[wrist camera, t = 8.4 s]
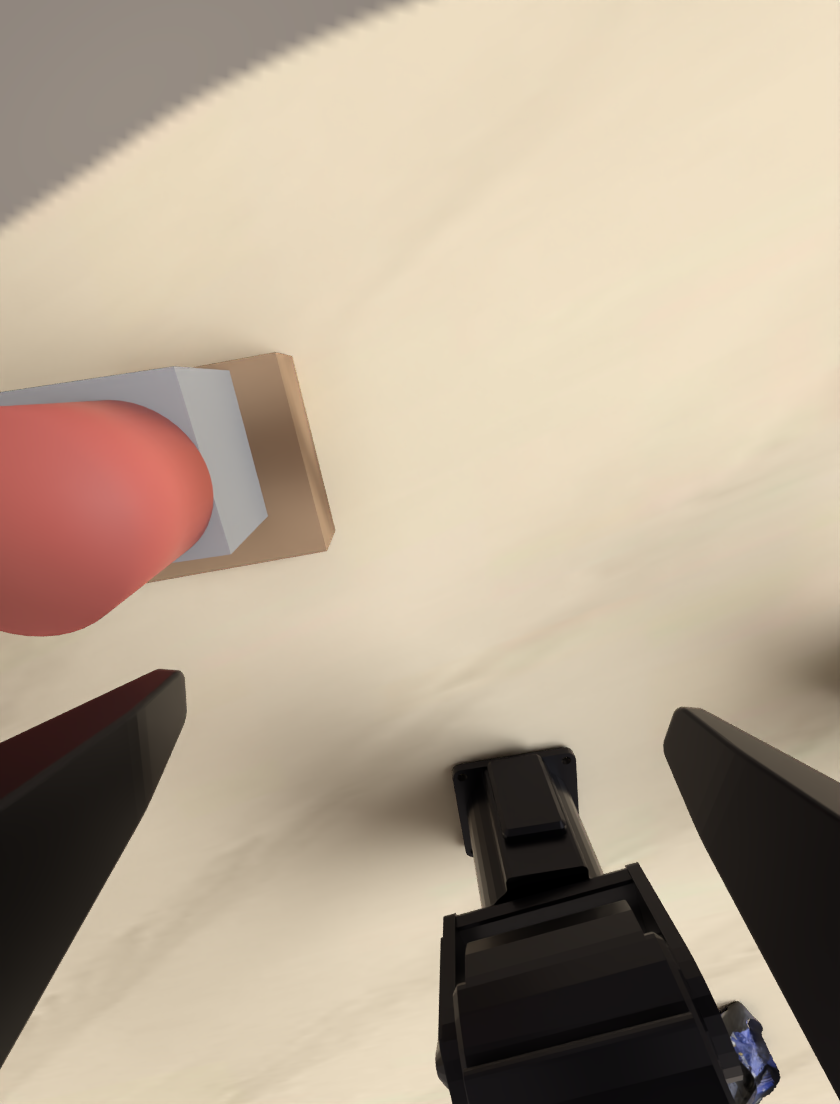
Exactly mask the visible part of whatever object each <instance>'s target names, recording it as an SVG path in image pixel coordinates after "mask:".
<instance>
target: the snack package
mask: <svg viewBox="0 0 840 1104" xmlns="http://www.w3.org/2000/svg"><path fill="white" fill-rule="evenodd" d="M720 1015H721V1017H722V1019H723V1022H724V1024H725V1026H726V1029H727V1031H728V1033H729V1036H730V1038H731V1041H732V1043H733V1046H734V1049H735V1051H736V1054H737V1057H738V1060H739V1063H740V1066H741V1069H742V1073H743V1080H741V1081H737V1082H733V1083H729V1084H728V1087H729V1089H730V1091H731V1094H732V1096H733V1098H734V1101H735V1103H736V1104H759V1103H760V1101H761V1100H762V1098H763V1097H766V1096H767V1095H770V1093H771V1092H772V1091H774V1088H776V1085H777V1084H778V1082H779V1080H780V1074H779V1070H778V1068H777V1066H776V1064H775V1062H774V1061H773V1058H772V1055H771V1054H769V1053H770V1052H769V1050H768V1048H767V1046H766V1043H765V1042H764V1039H763V1038H762V1034H761V1033H762V1031H763V1027H762V1026H761V1024H760V1022H759V1021H758V1020H757V1019H756V1018H754V1017H753V1016H752V1014H751V1013H750V1012H749V1011H748V1010H747V1009H746V1008H745V1007H744V1006H743V1004H741V1003H740V1002H734V1003H733V1004H730V1005H729V1006H728V1010H727V1011H724V1012H723V1013H722V1014H720ZM749 1018H750V1021H749V1023H748V1025H749V1026H750V1030H749V1028H748V1026H747V1020H748V1019H749Z"/></svg>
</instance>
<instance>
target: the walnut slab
mask: <svg viewBox="0 0 840 1104" xmlns="http://www.w3.org/2000/svg"><path fill="white" fill-rule="evenodd" d="M193 368H203V369H216V370H229V371H230V375H231V379H232V382H233V386H234V390H235V394H236V398H237V401H238V405H239V409H240V413H241V416H242V420H243V424H244V428H245V431H246V435H247V439H248V443H249V447H250V450H251V454H252V458H253V462H254V465H255V469H256V473H257V477H258V480H259V484H260V488H261V492H262V495H263V499H264V503H265V507H266V511H267V514H268V517H267V518H266V519H265V520H264V521H263V522H262V523H261V524H260V525H259V526H258V527H257V528H256V529H255V530H254V531H253V532H252V533H251V534H250V535H249V536H248V537H247V538H246V539H245V540H244V541H243V542H242V543H241V544H240V546H239V547H238V548H237V549H236V550H235V551H234V552H233V553H232V554H230V555H223V556H216V557H209V558H202V559H196V560H189V561H182V562H175V563H171V564H170V565H168V566H167V567H166V568H165V569H163V570H162V571H161V572H160V573H158V574H157V575H156V576H154V577H153V578H152V579H151V580H149V581H148V582H147V583H149V582H155V581H161V580H166V579H172V578H178V577H183V576H189V575H195V574H200V573H206V572H211V571H217V570H223V569H228V568H234V567H240V566H245V565H251V564H256V563H262V562H268V561H273V560H279V559H285V558H290V557H296V556H302V555H307V554H313V553H318V552H324V551H327V549H328V547H329V545H330V542H331V540H332V537H333V535H334V533H335V527H334V523H333V519H332V515H331V511H330V507H329V503H328V499H327V495H326V491H325V487H324V483H323V479H322V475H321V471H320V467H319V463H318V459H317V455H316V450H315V446H314V442H313V438H312V434H311V430H310V426H309V422H308V418H307V414H306V410H305V406H304V402H303V398H302V394H301V390H300V386H299V382H298V378H297V374H296V370H295V366H294V362H293V358H292V356H288V355H284V354H280V353H276V352H274V353H269V354H263V355H258V356H252V357H247V358H241V359H236V360H231V361H225V362H220V363H214V364H209V365H203V366H198V367H193Z"/></svg>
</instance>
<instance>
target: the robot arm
mask: <svg viewBox="0 0 840 1104" xmlns="http://www.w3.org/2000/svg"><path fill="white" fill-rule="evenodd" d="M186 713H187V706H186V690H185V677H184V674H183V673H182V672H181V671H179V670H166V669H157V670H154V671H152V672H150V673H148V674H146V675H144V676H141V677H139V678H137V679H135V680H133V681H131V682H129V683H127V684H124V685H122V686H120V687H118V688H116V689H114V690H112V691H110V692H108V693H105V694H103V695H101V696H99V697H97V698H95V699H93V700H91V701H88V702H86V703H84V704H82V705H80V706H78V707H76V708H74V709H71V710H69V711H67V712H65V713H63V714H61V715H59V716H57V717H54V718H52V719H50V720H48V721H46V722H44V723H42V724H40V725H38V726H35V727H33V728H31V729H29V730H27V731H25V732H23V733H21V734H18V735H16V736H14V737H12V738H10V739H8V740H6V741H4V742H1V743H0V1069H1V1067H2V1065H3V1064H4V1062H5V1060H6V1058H7V1057H8V1055H9V1053H10V1051H11V1050H12V1048H13V1046H14V1044H15V1042H16V1041H17V1039H18V1037H19V1035H20V1034H21V1032H22V1030H23V1028H24V1026H25V1025H26V1023H27V1021H28V1019H29V1018H30V1016H31V1014H32V1012H33V1011H34V1009H35V1007H36V1005H37V1003H38V1002H39V1000H40V998H41V996H42V995H43V993H44V991H45V989H46V987H47V986H48V984H49V982H50V980H51V979H52V977H53V975H54V973H55V971H56V970H57V968H58V966H59V964H60V963H61V961H62V959H63V957H64V956H65V954H66V952H67V950H68V948H69V947H70V945H71V943H72V941H73V940H74V938H75V936H76V934H77V932H78V931H79V929H80V927H81V925H82V924H83V922H84V920H85V918H86V917H87V915H88V913H89V911H90V909H91V908H92V906H93V904H94V902H95V901H96V899H97V897H98V895H99V893H100V892H101V890H102V888H103V886H104V885H105V883H106V881H107V879H108V878H109V876H110V874H111V872H112V870H113V869H114V867H115V865H116V863H117V862H118V860H119V858H120V856H121V854H122V853H123V851H124V849H125V847H126V846H127V844H128V842H129V840H130V839H131V837H132V835H133V833H134V831H135V830H136V828H137V826H138V824H139V822H140V821H141V819H142V817H143V815H144V813H145V811H146V809H147V807H148V805H149V803H150V801H151V799H152V796H153V794H154V792H155V790H156V787H157V785H158V783H159V780H160V778H161V776H162V774H163V771H164V769H165V767H166V764H167V762H168V760H169V758H170V755H171V753H172V751H173V748H174V746H175V744H176V741H177V739H178V737H179V735H180V732H181V730H182V728H183V725H184V723H185V719H186ZM663 748H664V754H665V757H666V760H667V762H668V764H669V767H670V769H671V771H672V774H673V776H674V778H675V781H676V783H677V785H678V788H679V790H680V792H681V795H682V797H683V799H684V802H685V804H686V807H687V809H688V811H689V814H690V816H691V818H692V821H693V823H694V825H695V827H696V830H697V832H698V834H699V836H700V838H701V840H702V842H703V844H704V846H705V848H706V850H707V852H708V854H709V856H710V858H711V860H712V861H713V863H714V865H715V867H716V869H717V871H718V873H719V875H720V877H721V878H722V880H723V882H724V884H725V886H726V888H727V890H728V892H729V893H730V895H731V897H732V899H733V901H734V903H735V905H736V907H737V908H738V910H739V912H740V914H741V916H742V918H743V920H744V922H745V923H746V925H747V927H748V929H749V931H750V933H751V935H752V937H753V939H754V940H755V942H756V944H757V946H758V948H759V950H760V952H761V954H762V955H763V957H764V959H765V961H766V963H767V965H768V967H769V969H770V970H771V972H772V974H773V976H774V978H775V980H776V982H777V984H778V985H779V987H780V989H781V991H782V993H783V995H784V997H785V999H786V1001H787V1002H788V1004H789V1006H790V1008H791V1010H792V1012H793V1014H794V1016H795V1017H796V1019H797V1021H798V1023H799V1025H800V1027H801V1029H802V1031H803V1032H804V1034H805V1036H806V1038H807V1040H808V1042H809V1044H810V1046H811V1047H812V1049H813V1051H814V1053H815V1055H816V1057H817V1059H818V1061H819V1063H820V1064H821V1066H822V1068H823V1070H824V1072H825V1074H826V1076H827V1078H828V1079H829V1081H830V1083H831V1085H832V1087H833V1089H834V1091H835V1093H836V1094H837V1096H838V1098H839V1100H840V783H839V782H837V781H836V780H834V779H832V778H830V777H828V776H826V775H824V774H823V773H821V772H819V771H817V770H815V769H813V768H811V767H810V766H808V765H806V764H804V763H802V762H800V761H798V760H797V759H795V758H793V757H791V756H789V755H787V754H785V753H784V752H782V751H780V750H778V749H776V748H774V747H772V746H771V745H769V744H767V743H765V742H763V741H761V740H759V739H758V738H756V737H754V736H752V735H750V734H748V733H746V732H745V731H743V730H741V729H739V728H737V727H735V726H733V725H732V724H730V723H728V722H726V721H724V720H722V719H720V718H719V717H717V716H715V715H713V714H711V713H709V712H707V711H705V710H703V709H701V708H692V707H679V708H677V709H676V710H675V711H674V714H673V716H672V719H671V722H670V725H669V728H668V731H667V733H666V736H665V739H664V744H663ZM565 757H567V758H565ZM563 758H565V759H563ZM460 774H464V775H460ZM452 776H453V782H454V788H455V794H456V799H457V805H458V810H459V816H460V822H461V827H462V833H463V838H464V844H465V850H466V853H467V855H468V856H470V857H474V863H475V869H476V875H477V881H478V888H479V894H480V900H481V906H482V909H478V910H475V911H471V912H467V913H464V914H460V915H456V913H454V914H451V915H447V916H444V918H443V937H442V938H441V951H440V989H439V1028H438V1043H437V1050H436V1057H435V1060H436V1070H437V1074H438V1077H439V1079H440V1080H441V1081H442V1082H443V1084H444V1085H445V1086H446V1087H447V1088H448V1089H449V1091H450V1095H451V1099H452V1104H736V1103H735V1101H734V1098H733V1096H732V1094H731V1091H730V1089H729V1087H728V1084H729V1083H733V1082H737V1081H741V1080H743V1073H742V1069H741V1066H740V1063H739V1060H738V1057H737V1054H736V1051H735V1049H734V1046H733V1043H732V1041H731V1038H730V1036H729V1033H728V1031H727V1029H726V1026H725V1024H724V1022H723V1019H722V1017H721V1015H720V1012H719V1010H718V1008H717V1006H716V1003H715V1001H714V999H713V997H712V995H711V993H710V990H709V988H708V986H707V984H706V982H705V980H704V978H703V976H702V974H701V972H700V970H699V968H698V966H697V964H696V962H695V960H694V958H693V957H692V955H691V953H690V951H689V949H688V948H687V946H686V944H685V942H684V941H683V939H682V937H681V936H680V934H679V932H678V930H677V929H676V927H675V925H674V924H673V922H672V920H671V918H670V917H669V915H668V913H667V911H666V910H665V908H664V906H663V905H662V903H661V901H660V899H659V898H658V896H657V894H656V893H655V891H654V889H653V887H652V886H651V884H650V882H649V881H648V879H647V877H646V875H645V874H644V872H643V870H642V869H641V867H640V865H639V863H638V862H636V863H632V864H629V865H625V867H626V868H624V869H621V870H617V871H614V872H610V873H606V874H603V871H602V869H601V866H600V864H599V862H598V859H597V857H596V855H595V852H594V850H593V847H592V845H591V843H590V840H589V838H588V836H587V833H586V831H585V828H584V826H583V824H582V821H581V819H580V817H579V808H578V790H577V771H576V758H575V755H574V753H573V751H572V750H571V749H570V748H558V749H552V750H545V751H539V752H533V753H527V754H521V755H515V756H508V757H502V758H496V759H490V760H484V761H477V762H471V763H465V764H460V765H457V766H455V767H454V768H453V770H452Z"/></svg>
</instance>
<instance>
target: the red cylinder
mask: <svg viewBox="0 0 840 1104" xmlns="http://www.w3.org/2000/svg"><path fill="white" fill-rule="evenodd" d="M212 509H213V486H212V481H211V477H210V474H209V471H208V468H207V465H206V463H205V461H204V459H203V457H202V455H201V453H200V452H199V451H198V449H197V448H196V446H195V445H194V443H193V442H192V441H191V440H190V438H189V437H188V436H187V435H186V434H185V433H184V432H183V431H182V430H181V429H180V428H179V427H178V426H177V425H175V424H174V423H173V422H171V421H170V420H169V419H167V418H166V417H164V416H162V415H161V414H159V413H157V412H155V411H153V410H151V409H149V408H146V407H144V406H141V405H138V404H135V403H131V402H125V401H118V400H100V401H82V402H65V403H48V404H30V405H13V406H0V631H3V632H7V633H12V634H18V635H25V636H54V635H61V634H66V633H71V632H74V631H77V630H80V629H83V628H85V627H87V626H89V625H91V624H93V623H95V622H96V621H98V620H99V619H101V618H102V617H103V616H105V615H106V614H107V613H109V612H110V611H111V610H112V609H114V608H115V607H116V606H118V605H119V604H120V603H121V602H123V601H124V600H125V599H126V598H128V597H129V596H130V595H132V594H133V593H134V592H135V591H137V590H138V589H139V588H140V587H142V586H143V585H144V584H146V583H147V582H148V581H149V580H151V579H152V578H153V577H154V576H156V575H157V574H158V573H160V572H161V571H162V570H163V569H165V568H166V567H167V566H168V565H170V564H171V563H172V562H174V561H175V560H176V559H177V558H179V557H180V556H181V555H182V554H184V553H185V552H186V551H188V550H189V549H190V548H191V547H192V546H193V545H194V544H195V543H196V542H197V541H198V540H199V539H200V538H201V536H202V535H203V534H204V532H205V530H206V528H207V526H208V524H209V521H210V518H211V515H212Z"/></svg>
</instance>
